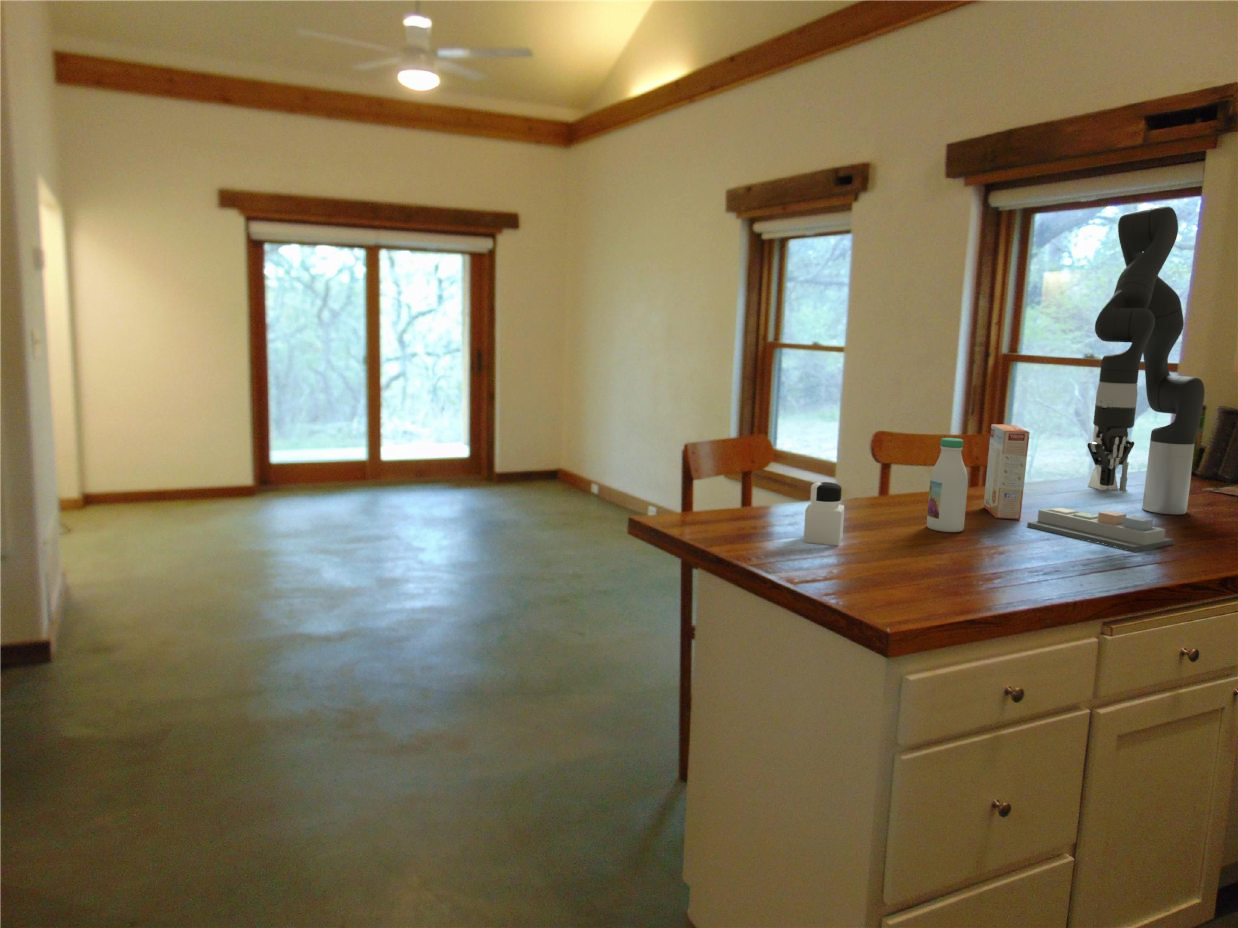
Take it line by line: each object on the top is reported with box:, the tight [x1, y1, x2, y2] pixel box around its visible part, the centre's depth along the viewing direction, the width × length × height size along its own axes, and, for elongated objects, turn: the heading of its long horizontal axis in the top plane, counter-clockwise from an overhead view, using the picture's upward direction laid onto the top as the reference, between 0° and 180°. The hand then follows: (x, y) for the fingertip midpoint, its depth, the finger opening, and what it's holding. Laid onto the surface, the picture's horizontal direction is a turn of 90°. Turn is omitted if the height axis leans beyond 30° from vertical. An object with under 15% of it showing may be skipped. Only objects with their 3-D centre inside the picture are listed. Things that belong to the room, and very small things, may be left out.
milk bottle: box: [926, 437, 969, 533], centre depth 192 cm, size 8×8×20 cm
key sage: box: [1074, 512, 1098, 520], centre depth 193 cm, size 4×4×3 cm
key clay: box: [1097, 510, 1127, 525], centre depth 188 cm, size 4×4×3 cm
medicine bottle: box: [803, 481, 845, 547], centre depth 180 cm, size 7×7×12 cm
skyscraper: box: [1087, 424, 1130, 492], centre depth 244 cm, size 8×8×28 cm
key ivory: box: [1050, 507, 1078, 515], centre depth 197 cm, size 4×4×3 cm
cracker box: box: [983, 423, 1030, 521], centre depth 209 cm, size 14×6×21 cm, turn 168°
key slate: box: [1123, 515, 1154, 531], centre depth 183 cm, size 4×4×3 cm
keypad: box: [1026, 506, 1174, 553], centre depth 190 cm, size 14×24×4 cm, turn 30°
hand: (1106, 485), depth 188 cm, fingers closed
